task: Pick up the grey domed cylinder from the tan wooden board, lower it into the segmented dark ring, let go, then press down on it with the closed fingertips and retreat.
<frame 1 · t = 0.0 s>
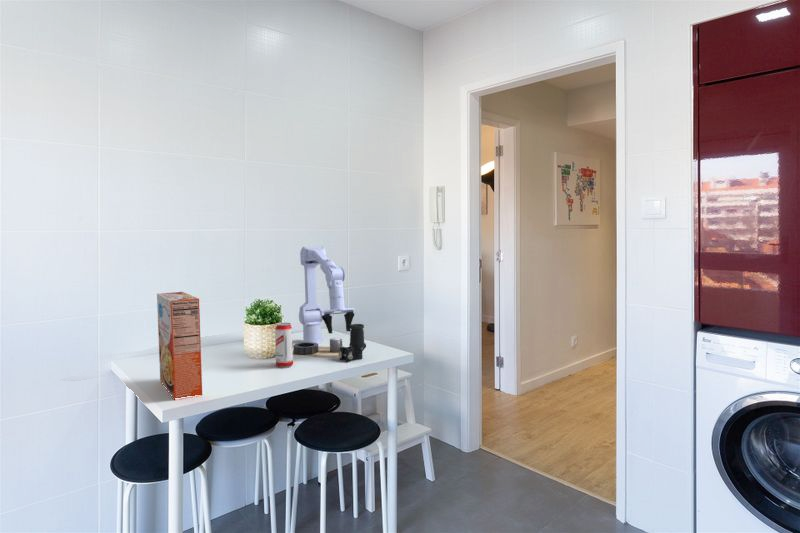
hand: (339, 332, 198), 11 cm above the table, tool pointing down, fingers open, 7 cm apart
segmented dark ring: (305, 352, 208), resting on tan wooden board
grey domed cylinder: (336, 351, 208), point 1 cm above the table, touching tan wooden board
scope: (354, 360, 196), on the table
cereal box: (180, 389, 162), on the table
beer can: (284, 366, 188), on the table
tan wooden board: (321, 352, 209), on the table
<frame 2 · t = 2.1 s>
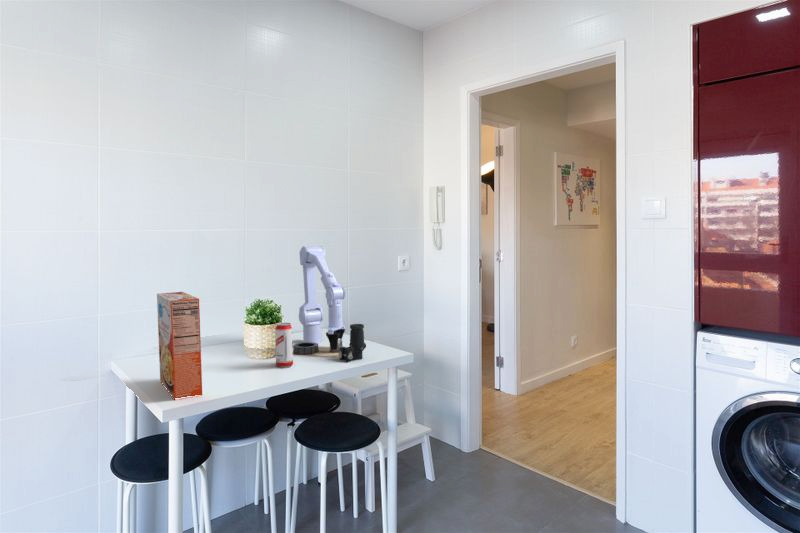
hand: (335, 348, 208), 2 cm above the table, tool pointing down, fingers closed on grey domed cylinder, 5 cm apart
grey domed cylinder: (336, 351, 208), point 1 cm above the table, touching tan wooden board, gripper
everything else where it was.
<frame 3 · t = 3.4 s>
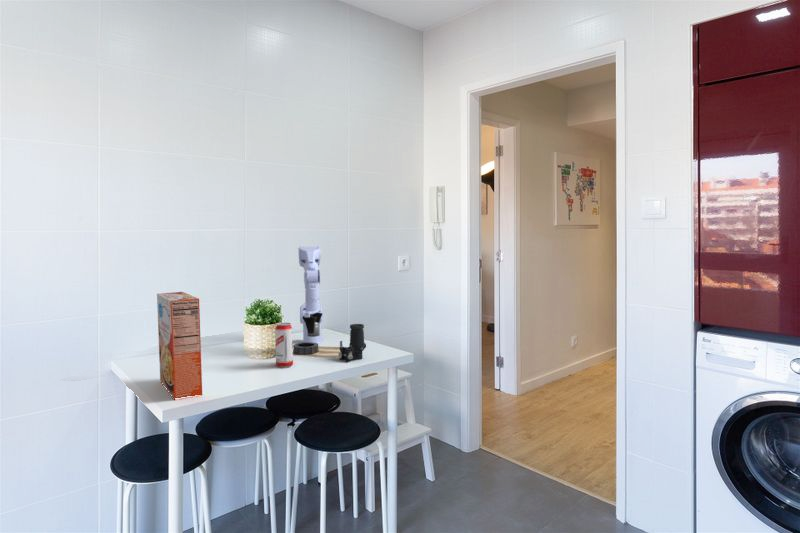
hand: (313, 331, 207), 9 cm above the table, tool pointing down, fingers closed on grey domed cylinder, 5 cm apart
grey domed cylinder: (313, 335, 207), point 7 cm above the table, touching gripper
everything else where it was.
when the fingers open (4 cm above the table, at t = 5.0 s): grey domed cylinder drops 2 cm, resting on tan wooden board.
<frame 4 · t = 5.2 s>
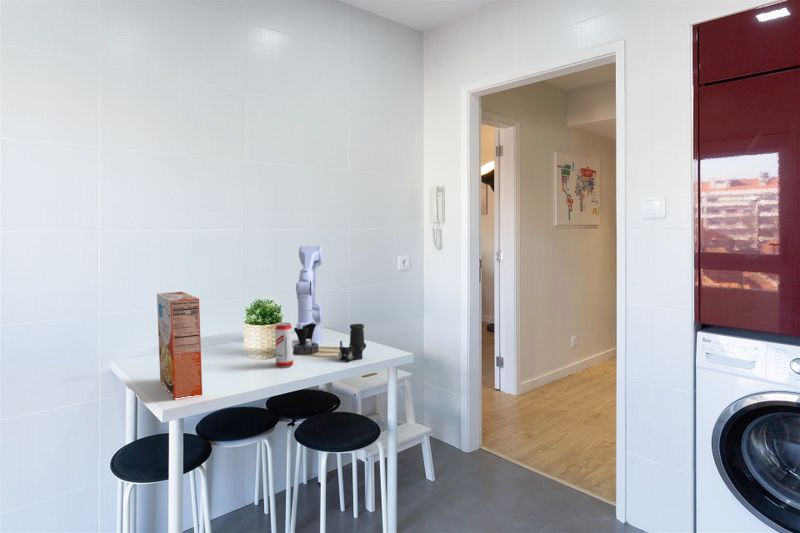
hand: (305, 342, 207), 4 cm above the table, tool pointing down, fingers open, 7 cm apart
grey domed cylinder: (306, 352, 207), point 1 cm above the table, touching tan wooden board
everything else where it was.
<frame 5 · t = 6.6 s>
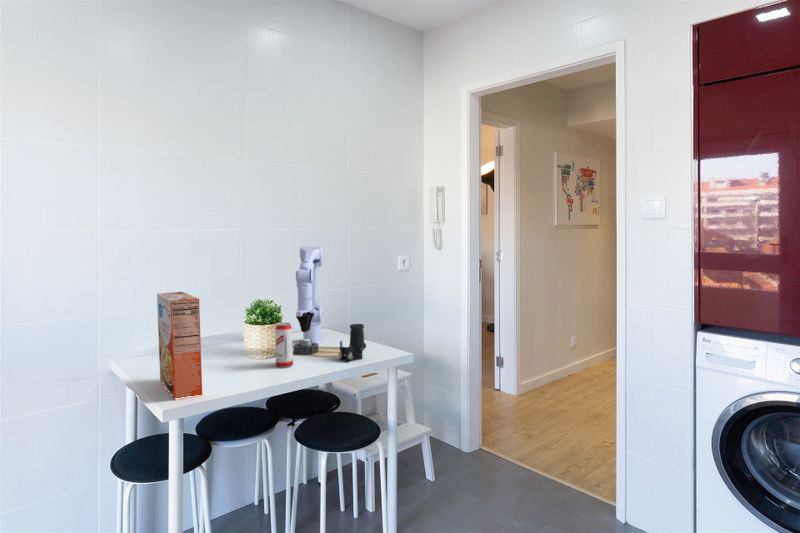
hand: (305, 331, 207), 9 cm above the table, tool pointing down, fingers closed
nothing on the table moved.
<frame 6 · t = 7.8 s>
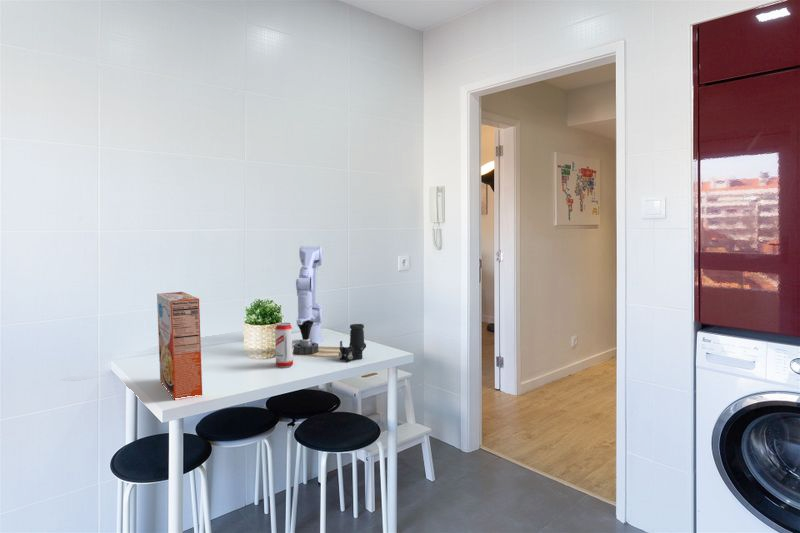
hand: (305, 339, 207), 6 cm above the table, tool pointing down, fingers closed
nothing on the table moved.
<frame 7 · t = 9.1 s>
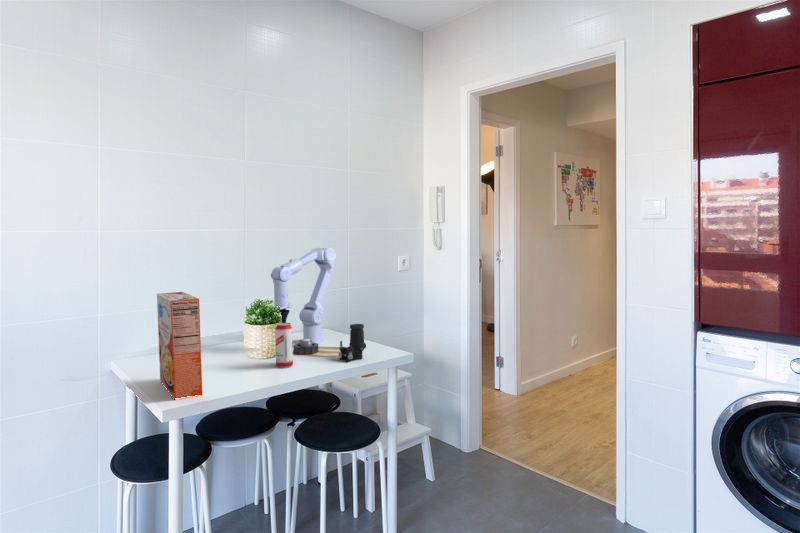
hand: (281, 327, 213), 10 cm above the table, tool pointing down, fingers closed
nothing on the table moved.
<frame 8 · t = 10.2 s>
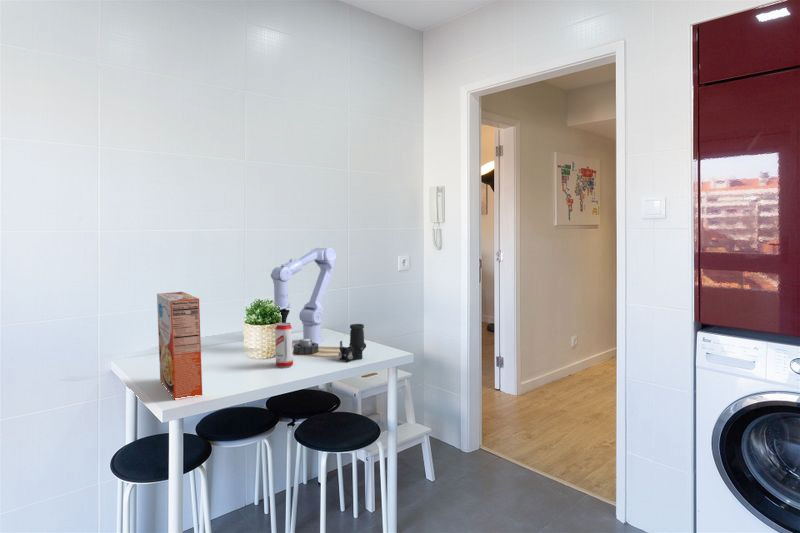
hand: (281, 327, 213), 10 cm above the table, tool pointing down, fingers closed
nothing on the table moved.
at the end: grey domed cylinder 0.2 cm off-centre on the segmented dark ring, point 0.0 cm above the segmented dark ring's base; grey domed cylinder tilted 0°; the gripper is holding nothing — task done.
